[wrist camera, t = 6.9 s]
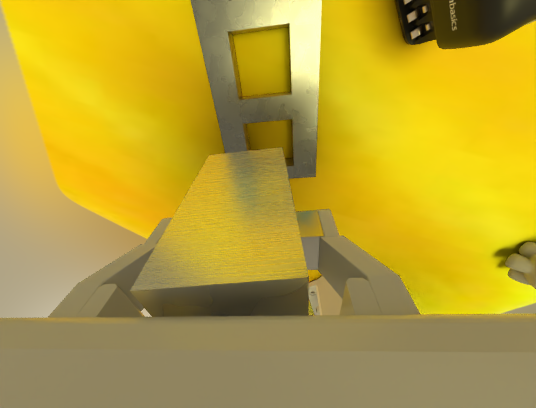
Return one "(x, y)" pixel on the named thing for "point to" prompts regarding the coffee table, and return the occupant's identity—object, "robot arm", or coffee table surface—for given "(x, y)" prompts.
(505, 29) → the battery charger
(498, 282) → the coffee table surface
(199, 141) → the coffee table surface
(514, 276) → the toy rhinoceros
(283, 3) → the grey slotted board
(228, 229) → the steel block
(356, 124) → the coffee table surface
